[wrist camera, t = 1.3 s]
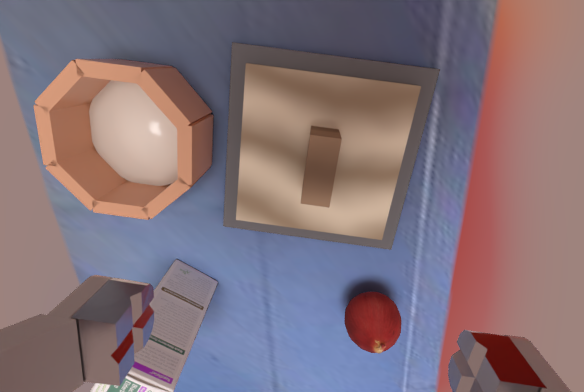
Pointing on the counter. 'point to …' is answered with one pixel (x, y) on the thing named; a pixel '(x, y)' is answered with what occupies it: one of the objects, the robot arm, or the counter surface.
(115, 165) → the bowl
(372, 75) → the mat
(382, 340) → the onion
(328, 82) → the lid
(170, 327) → the syrup box
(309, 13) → the counter surface
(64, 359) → the robot arm
